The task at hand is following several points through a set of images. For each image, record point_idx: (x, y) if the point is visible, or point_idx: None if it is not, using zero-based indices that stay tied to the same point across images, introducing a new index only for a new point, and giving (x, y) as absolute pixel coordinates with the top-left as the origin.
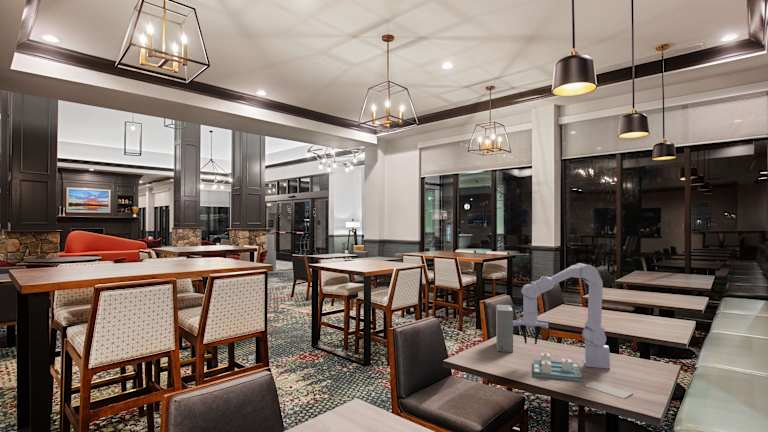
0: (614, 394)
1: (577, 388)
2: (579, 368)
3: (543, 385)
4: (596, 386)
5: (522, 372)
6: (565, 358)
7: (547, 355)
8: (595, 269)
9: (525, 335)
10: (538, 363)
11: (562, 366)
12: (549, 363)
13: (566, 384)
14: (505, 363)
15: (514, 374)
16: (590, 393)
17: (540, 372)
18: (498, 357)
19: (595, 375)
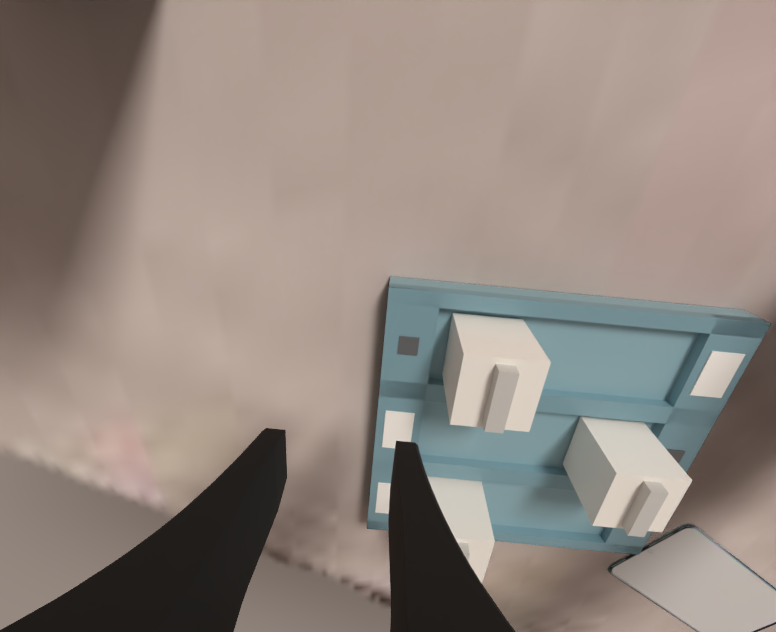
0: (703, 623)
1: (560, 593)
2: (710, 428)
3: None
4: (669, 572)
5: (306, 466)
6: (644, 498)
7: (508, 421)
8: None
9: (231, 610)
10: (418, 384)
11: (575, 490)
12: (474, 570)
13: (523, 565)
14: (175, 334)
15: None
16: (597, 622)
17: None
18: (78, 192)
19: (773, 441)
